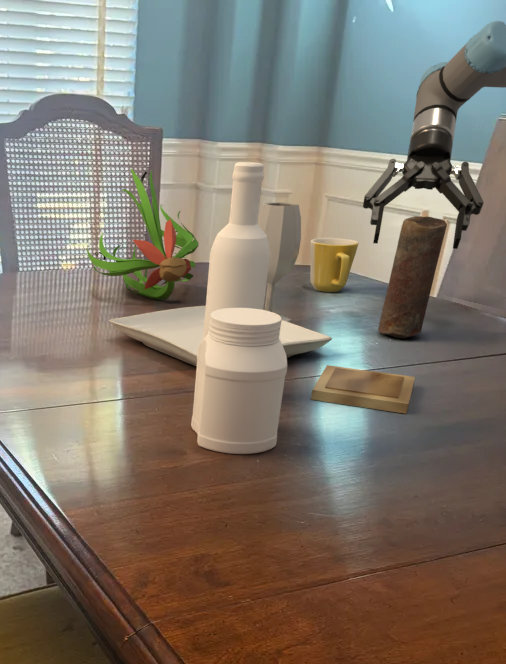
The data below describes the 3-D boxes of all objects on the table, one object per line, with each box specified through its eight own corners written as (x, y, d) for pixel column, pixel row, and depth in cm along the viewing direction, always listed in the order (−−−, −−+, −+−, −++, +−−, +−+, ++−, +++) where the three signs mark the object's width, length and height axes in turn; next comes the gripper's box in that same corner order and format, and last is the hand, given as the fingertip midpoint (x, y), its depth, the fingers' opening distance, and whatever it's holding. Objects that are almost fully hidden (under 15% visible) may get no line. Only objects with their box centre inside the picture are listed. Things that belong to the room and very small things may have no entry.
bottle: (224, 408, 106) (249, 166, 91) (186, 392, 111) (204, 161, 96) (265, 397, 110) (295, 164, 95) (226, 382, 115) (249, 160, 100)
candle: (425, 335, 141) (452, 218, 131) (414, 344, 136) (442, 222, 126) (383, 328, 145) (406, 214, 135) (371, 336, 140) (395, 218, 130)
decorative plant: (136, 341, 154) (79, 303, 177) (244, 306, 160) (175, 273, 183) (117, 205, 138) (58, 182, 161) (238, 171, 144) (164, 154, 167)
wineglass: (234, 322, 147) (246, 203, 137) (262, 315, 152) (276, 200, 142) (270, 331, 142) (286, 208, 131) (299, 324, 147) (316, 205, 136)
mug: (301, 284, 179) (308, 236, 174) (346, 286, 178) (354, 238, 173) (307, 297, 168) (315, 246, 162) (355, 299, 167) (364, 248, 161)
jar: (188, 419, 102) (197, 303, 94) (260, 420, 102) (275, 304, 95) (201, 454, 92) (213, 328, 84) (280, 454, 92) (299, 329, 85)
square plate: (207, 382, 115) (209, 357, 113) (105, 339, 135) (106, 317, 133) (331, 356, 128) (335, 333, 126) (222, 320, 148) (224, 300, 146)
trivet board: (413, 386, 116) (415, 375, 115) (406, 414, 105) (409, 402, 104) (325, 374, 120) (327, 363, 119) (310, 399, 109) (312, 388, 109)
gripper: (498, 161, 143) (485, 259, 138) (358, 155, 149) (342, 249, 144) (510, 129, 136) (497, 231, 131) (363, 125, 142) (346, 222, 137)
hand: (416, 241), depth 137 cm, fingers open, 13 cm apart
